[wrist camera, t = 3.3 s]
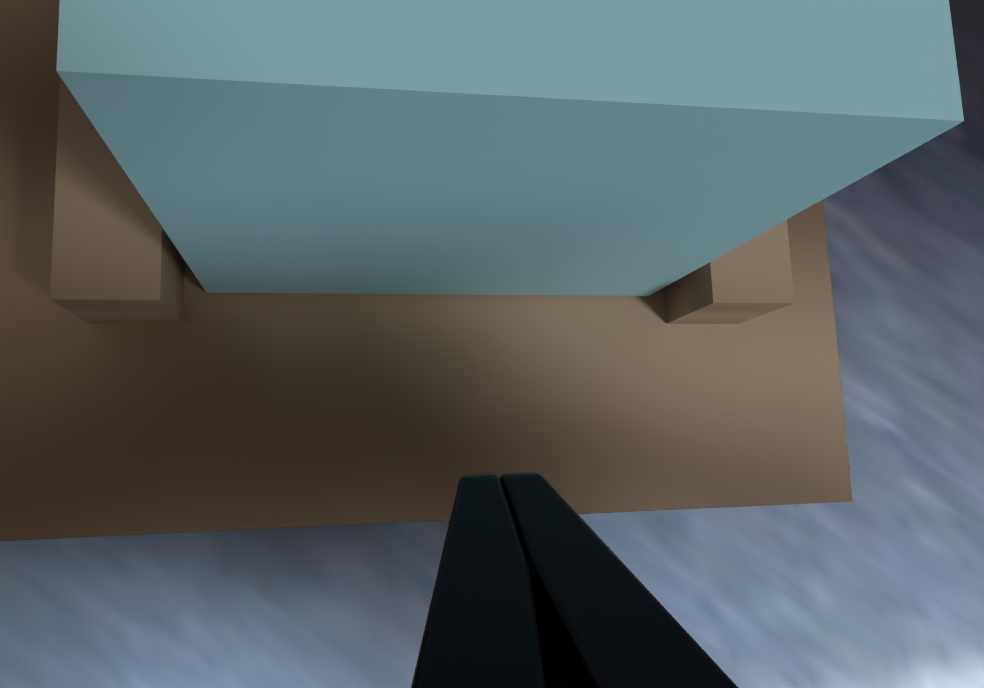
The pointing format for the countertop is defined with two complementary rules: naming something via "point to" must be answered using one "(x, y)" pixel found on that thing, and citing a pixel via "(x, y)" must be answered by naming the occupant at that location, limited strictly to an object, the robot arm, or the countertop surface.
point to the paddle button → (496, 131)
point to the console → (370, 368)
